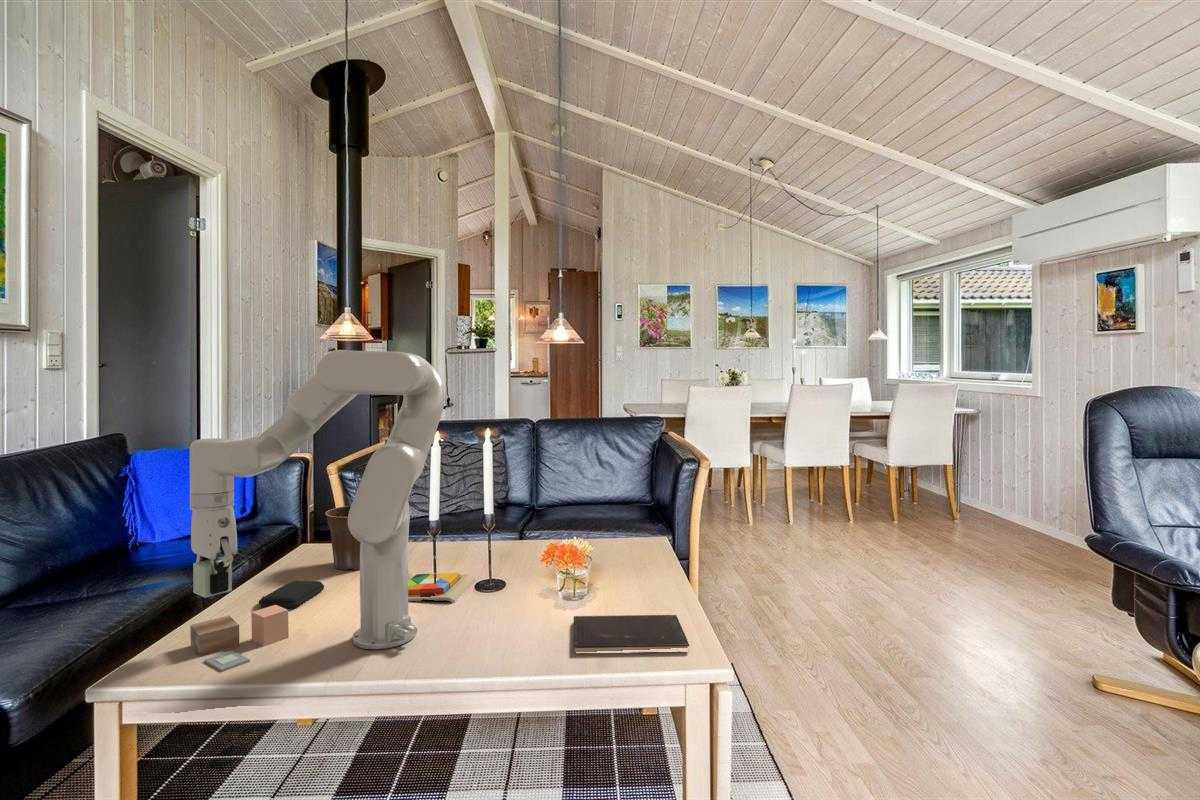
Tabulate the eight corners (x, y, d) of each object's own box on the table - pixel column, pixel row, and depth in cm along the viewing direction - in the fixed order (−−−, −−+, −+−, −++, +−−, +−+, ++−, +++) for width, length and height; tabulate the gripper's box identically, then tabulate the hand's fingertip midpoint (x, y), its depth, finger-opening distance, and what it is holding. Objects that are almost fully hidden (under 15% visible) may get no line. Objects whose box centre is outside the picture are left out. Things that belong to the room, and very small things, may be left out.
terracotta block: (288, 638, 127) (288, 609, 127) (264, 646, 123) (263, 617, 123) (276, 632, 130) (275, 604, 130) (251, 640, 126) (251, 612, 126)
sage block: (231, 590, 124) (231, 561, 124) (204, 597, 120) (204, 567, 119) (220, 585, 126) (220, 557, 126) (193, 592, 122) (193, 563, 122)
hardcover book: (689, 655, 121) (689, 644, 121) (573, 657, 120) (573, 646, 120) (675, 623, 137) (675, 613, 137) (573, 625, 136) (573, 615, 136)
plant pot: (350, 576, 167) (350, 518, 166) (313, 567, 175) (313, 512, 174) (397, 561, 181) (396, 508, 180) (361, 553, 189) (360, 502, 189)
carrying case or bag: (287, 589, 157) (251, 611, 143) (287, 578, 157) (250, 598, 143) (327, 591, 157) (294, 612, 142) (327, 579, 157) (294, 599, 142)
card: (249, 661, 117) (249, 658, 116) (221, 671, 112) (221, 668, 112) (232, 652, 120) (232, 649, 120) (204, 661, 116) (204, 659, 116)
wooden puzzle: (409, 579, 166) (409, 566, 166) (476, 582, 164) (476, 569, 164) (380, 602, 149) (380, 588, 149) (454, 606, 147) (454, 591, 147)
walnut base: (239, 646, 123) (239, 624, 123) (199, 657, 118) (198, 635, 118) (229, 636, 128) (229, 615, 128) (190, 646, 123) (190, 624, 123)
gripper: (252, 502, 121) (253, 592, 121) (212, 492, 130) (212, 576, 131) (211, 508, 115) (212, 603, 115) (172, 497, 124) (173, 585, 125)
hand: (212, 588), depth 123 cm, fingers closed on sage block, 4 cm apart
